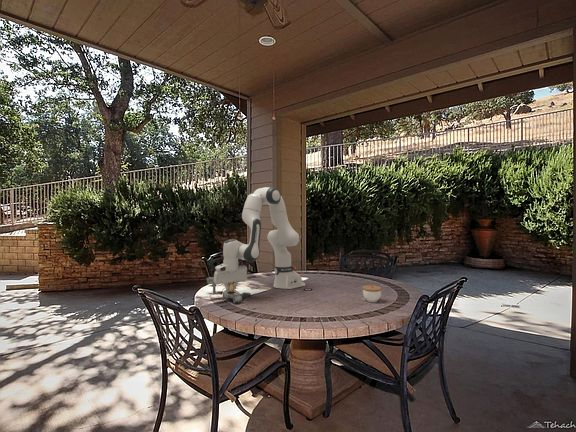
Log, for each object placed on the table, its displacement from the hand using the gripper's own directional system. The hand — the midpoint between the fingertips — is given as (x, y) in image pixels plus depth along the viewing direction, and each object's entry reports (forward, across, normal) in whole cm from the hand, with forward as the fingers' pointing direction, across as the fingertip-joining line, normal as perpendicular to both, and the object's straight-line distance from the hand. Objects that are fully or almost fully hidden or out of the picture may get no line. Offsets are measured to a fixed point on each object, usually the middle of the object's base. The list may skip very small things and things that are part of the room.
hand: (231, 289), depth 201 cm
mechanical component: (+6, +5, -18) cm, 20 cm away
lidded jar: (+6, -70, +45) cm, 83 cm away
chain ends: (+6, -4, +4) cm, 8 cm away
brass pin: (+3, 0, 0) cm, 3 cm away
